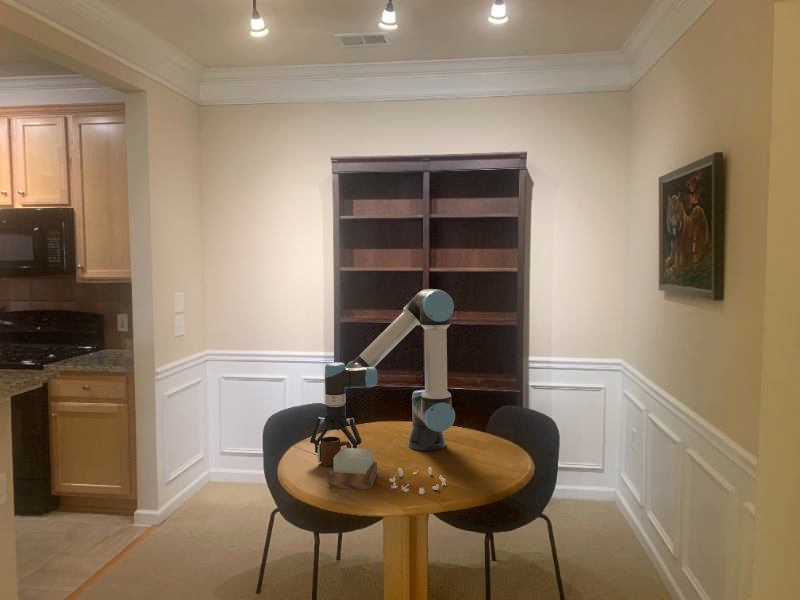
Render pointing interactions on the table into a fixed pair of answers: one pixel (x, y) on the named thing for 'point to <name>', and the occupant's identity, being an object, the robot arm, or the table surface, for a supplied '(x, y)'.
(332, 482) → the base block
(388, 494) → the table surface
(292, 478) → the table surface
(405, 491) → the game piece set
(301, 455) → the table surface
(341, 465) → the top block
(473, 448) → the table surface
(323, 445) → the mug
